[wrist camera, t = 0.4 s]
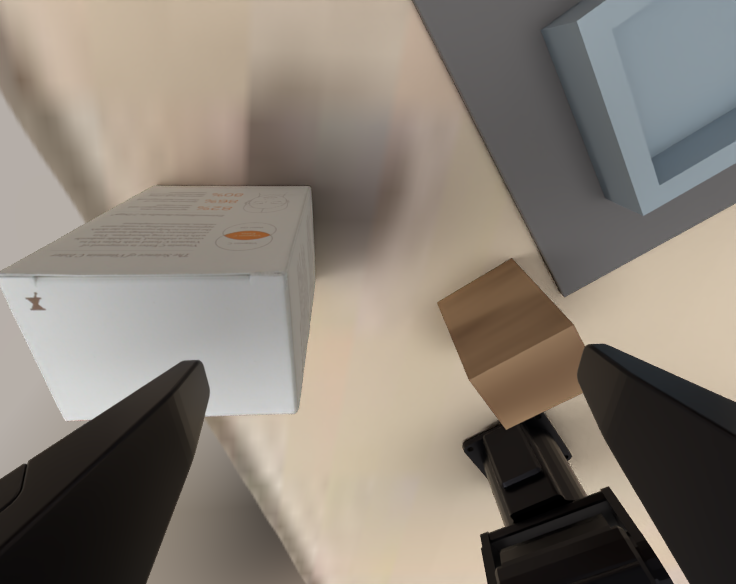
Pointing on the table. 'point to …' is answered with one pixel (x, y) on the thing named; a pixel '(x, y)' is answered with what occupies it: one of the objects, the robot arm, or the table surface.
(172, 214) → the small box
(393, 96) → the table surface
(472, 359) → the short wooden block
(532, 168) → the coaster
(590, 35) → the tray
